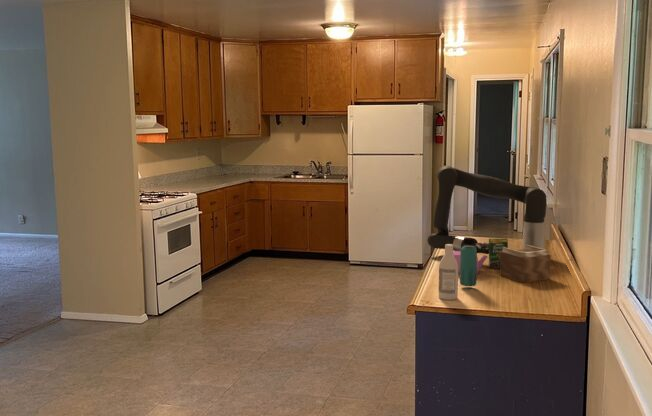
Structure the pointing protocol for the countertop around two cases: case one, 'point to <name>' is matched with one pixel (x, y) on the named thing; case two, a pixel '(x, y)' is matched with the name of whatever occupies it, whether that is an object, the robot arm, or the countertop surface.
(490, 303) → the countertop surface
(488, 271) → the countertop surface
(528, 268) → the walnut stand
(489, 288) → the countertop surface
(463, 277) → the beverage bottle
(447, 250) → the bath foam
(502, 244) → the coffee box
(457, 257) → the teapot
